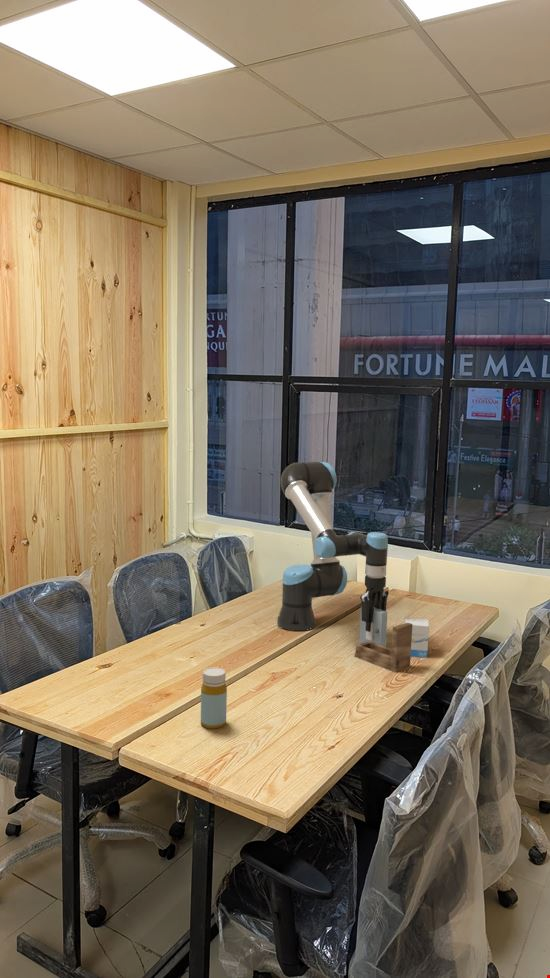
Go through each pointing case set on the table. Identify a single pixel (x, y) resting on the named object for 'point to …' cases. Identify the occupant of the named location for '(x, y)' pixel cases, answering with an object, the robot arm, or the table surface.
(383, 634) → the door
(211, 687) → the bottle
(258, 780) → the table surface
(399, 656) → the track
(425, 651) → the ink box
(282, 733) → the table surface
